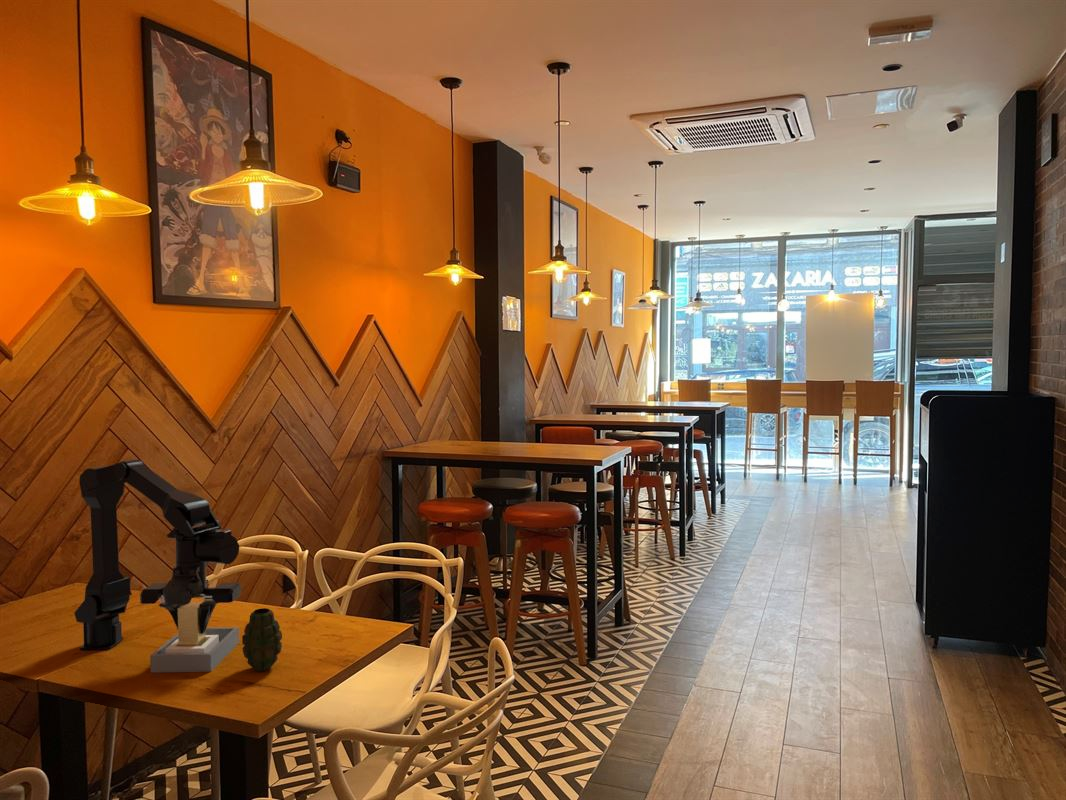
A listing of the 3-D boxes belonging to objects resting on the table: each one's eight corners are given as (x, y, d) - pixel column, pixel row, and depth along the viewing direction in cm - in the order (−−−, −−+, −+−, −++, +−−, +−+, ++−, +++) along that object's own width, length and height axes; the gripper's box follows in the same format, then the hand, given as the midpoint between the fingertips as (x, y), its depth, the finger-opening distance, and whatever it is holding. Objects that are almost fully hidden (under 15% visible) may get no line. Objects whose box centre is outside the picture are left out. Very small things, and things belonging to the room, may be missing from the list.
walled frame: (150, 672, 151) (150, 653, 151) (184, 643, 167) (184, 625, 167) (211, 671, 152) (210, 652, 151) (239, 642, 167) (238, 625, 167)
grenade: (251, 661, 157) (250, 604, 156) (288, 661, 157) (287, 604, 156) (235, 676, 149) (234, 616, 149) (274, 676, 149) (273, 617, 148)
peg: (178, 646, 155) (177, 608, 155) (186, 639, 159) (185, 602, 159) (198, 646, 155) (197, 608, 155) (205, 639, 159) (205, 602, 159)
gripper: (125, 570, 148) (127, 648, 149) (221, 569, 149) (223, 647, 149) (152, 556, 159) (153, 628, 160) (241, 555, 160) (242, 627, 160)
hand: (192, 633), depth 157 cm, fingers closed on peg, 4 cm apart
